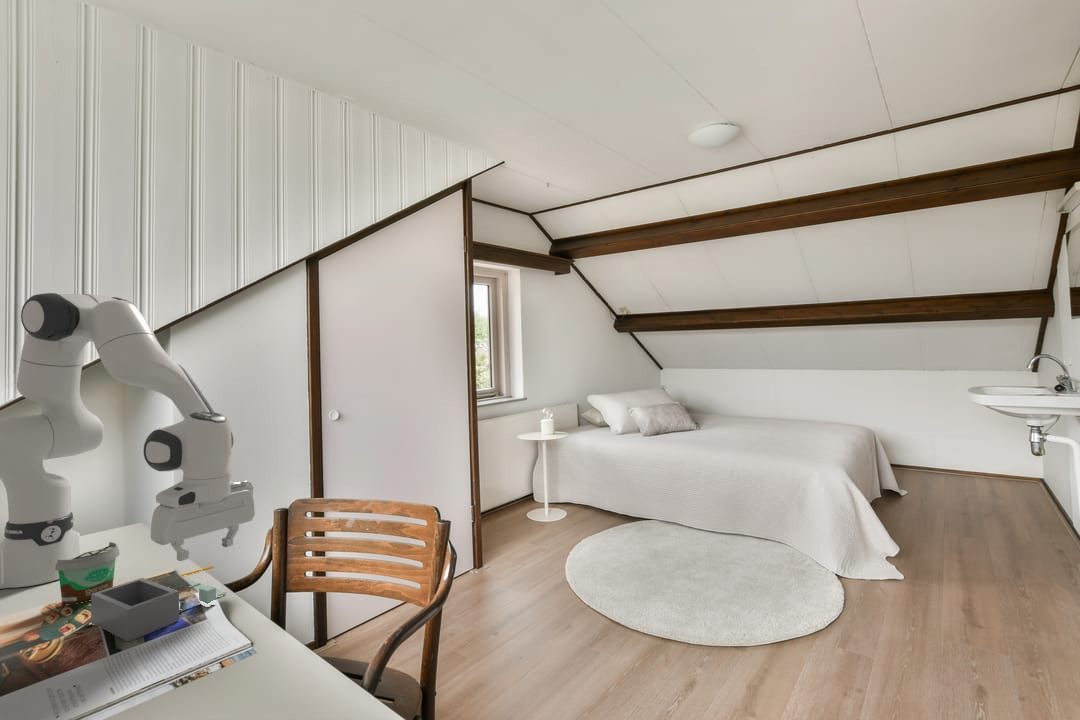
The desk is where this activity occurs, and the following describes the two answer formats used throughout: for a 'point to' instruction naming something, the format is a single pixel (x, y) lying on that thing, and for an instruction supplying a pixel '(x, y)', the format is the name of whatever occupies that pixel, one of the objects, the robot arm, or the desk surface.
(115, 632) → the tub
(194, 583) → the lid
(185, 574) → the pencil
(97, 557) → the food container
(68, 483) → the robot arm
